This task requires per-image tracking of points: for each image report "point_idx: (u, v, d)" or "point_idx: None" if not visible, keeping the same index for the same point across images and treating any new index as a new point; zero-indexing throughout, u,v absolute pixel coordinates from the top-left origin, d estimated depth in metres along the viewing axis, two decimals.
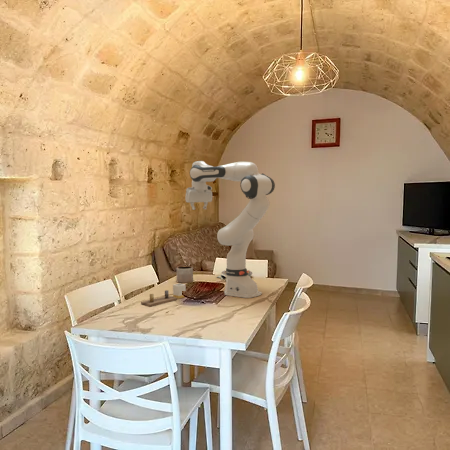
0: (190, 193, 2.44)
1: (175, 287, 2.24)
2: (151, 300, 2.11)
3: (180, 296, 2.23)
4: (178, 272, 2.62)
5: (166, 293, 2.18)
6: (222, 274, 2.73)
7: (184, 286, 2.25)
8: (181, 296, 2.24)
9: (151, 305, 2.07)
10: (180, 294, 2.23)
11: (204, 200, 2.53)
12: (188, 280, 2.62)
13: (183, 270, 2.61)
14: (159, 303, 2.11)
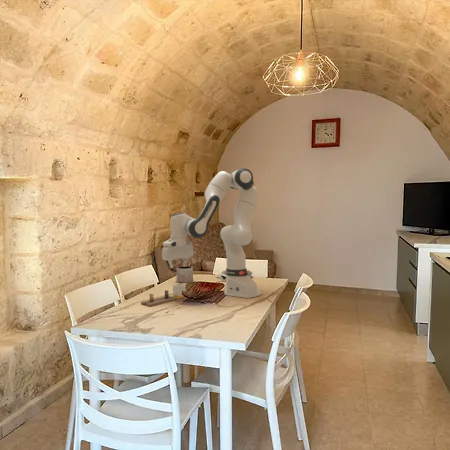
0: None
1: (175, 287, 2.24)
2: (151, 300, 2.11)
3: (180, 296, 2.23)
4: (178, 272, 2.62)
5: (166, 293, 2.18)
6: (222, 274, 2.72)
7: (184, 286, 2.25)
8: (181, 296, 2.24)
9: (151, 305, 2.07)
10: (180, 294, 2.23)
11: None
12: (188, 280, 2.62)
13: (183, 270, 2.61)
14: (159, 303, 2.11)
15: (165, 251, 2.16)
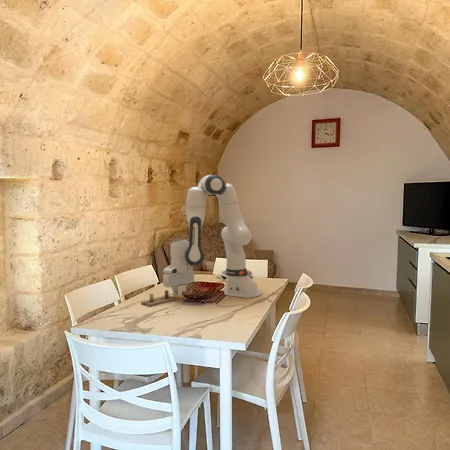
0: None
1: (175, 287, 2.24)
2: (151, 300, 2.11)
3: (180, 296, 2.23)
4: None
5: (166, 293, 2.18)
6: (222, 274, 2.72)
7: (184, 286, 2.25)
8: (181, 296, 2.24)
9: (151, 305, 2.07)
10: (180, 294, 2.23)
11: None
12: None
13: None
14: (159, 303, 2.11)
15: (166, 278, 2.17)
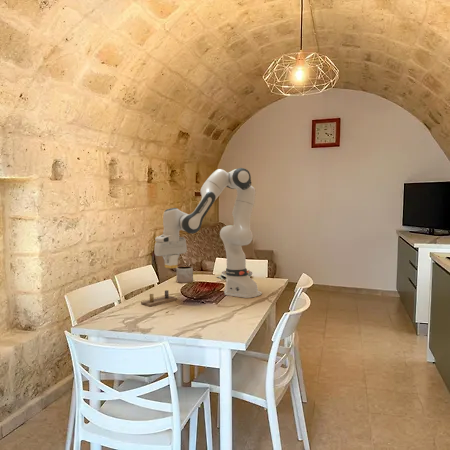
0: None
1: (167, 257, 2.19)
2: (151, 300, 2.11)
3: (172, 266, 2.19)
4: (178, 272, 2.62)
5: (166, 293, 2.18)
6: (222, 274, 2.72)
7: (176, 256, 2.20)
8: (173, 266, 2.19)
9: (151, 305, 2.07)
10: (172, 264, 2.19)
11: None
12: (188, 280, 2.62)
13: (183, 270, 2.61)
14: (159, 303, 2.11)
15: (157, 246, 2.13)
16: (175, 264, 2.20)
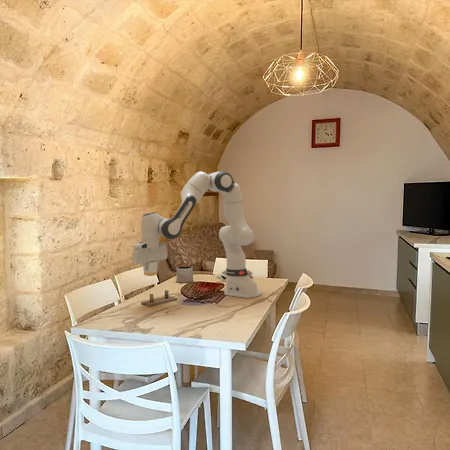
0: None
1: (146, 264, 2.09)
2: (151, 300, 2.11)
3: (151, 273, 2.08)
4: (178, 272, 2.62)
5: (166, 293, 2.18)
6: (222, 274, 2.72)
7: (156, 263, 2.10)
8: (152, 274, 2.09)
9: (151, 305, 2.07)
10: (151, 271, 2.08)
11: None
12: (188, 280, 2.62)
13: (183, 270, 2.61)
14: (159, 303, 2.11)
15: (135, 254, 2.02)
16: (155, 271, 2.10)
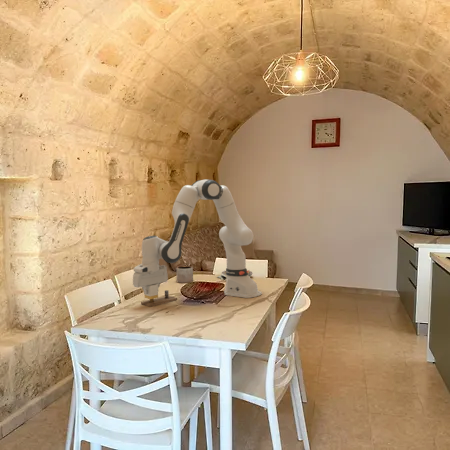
0: None
1: None
2: (151, 300, 2.11)
3: (151, 297, 2.09)
4: (178, 272, 2.62)
5: (166, 293, 2.18)
6: (222, 274, 2.72)
7: (156, 286, 2.11)
8: (153, 297, 2.10)
9: (151, 305, 2.07)
10: (151, 294, 2.09)
11: None
12: (188, 280, 2.62)
13: (183, 270, 2.61)
14: (159, 303, 2.11)
15: (136, 277, 2.03)
16: (155, 294, 2.11)
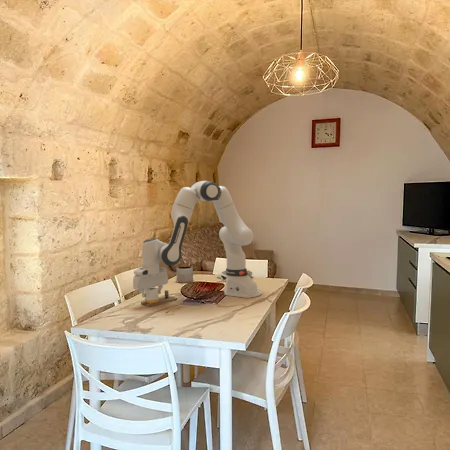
0: None
1: (147, 291, 2.10)
2: None
3: (152, 301, 2.09)
4: (178, 272, 2.62)
5: (166, 293, 2.18)
6: (222, 274, 2.72)
7: (156, 290, 2.11)
8: (153, 301, 2.10)
9: (151, 305, 2.07)
10: (152, 299, 2.09)
11: None
12: (188, 280, 2.62)
13: (183, 270, 2.61)
14: (159, 303, 2.11)
15: (136, 280, 2.04)
16: (156, 298, 2.11)
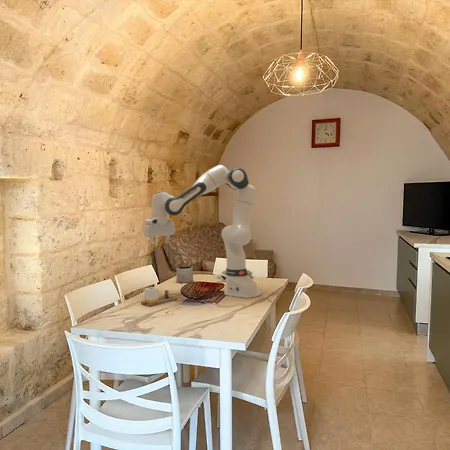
0: None
1: (147, 291, 2.10)
2: None
3: (152, 301, 2.09)
4: (178, 272, 2.62)
5: (166, 293, 2.18)
6: (222, 274, 2.72)
7: (156, 290, 2.11)
8: (153, 301, 2.10)
9: (151, 305, 2.07)
10: (152, 299, 2.09)
11: None
12: (188, 280, 2.62)
13: (183, 270, 2.61)
14: (159, 303, 2.11)
15: (147, 228, 2.25)
16: (156, 298, 2.11)
